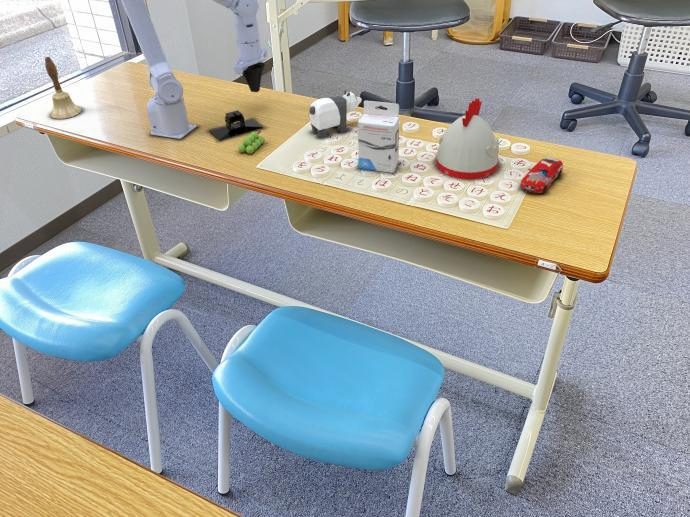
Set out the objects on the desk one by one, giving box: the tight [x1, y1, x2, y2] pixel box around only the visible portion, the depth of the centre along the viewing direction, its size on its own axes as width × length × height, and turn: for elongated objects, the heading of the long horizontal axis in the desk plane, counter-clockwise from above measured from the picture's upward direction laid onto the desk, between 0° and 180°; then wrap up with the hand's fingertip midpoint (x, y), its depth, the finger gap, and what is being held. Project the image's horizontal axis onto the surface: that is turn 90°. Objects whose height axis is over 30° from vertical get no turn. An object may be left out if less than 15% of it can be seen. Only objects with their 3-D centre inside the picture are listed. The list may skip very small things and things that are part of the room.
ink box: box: [357, 100, 400, 174], centre depth 132 cm, size 8×5×15 cm, turn 72°
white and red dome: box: [435, 98, 500, 180], centre depth 131 cm, size 14×14×15 cm
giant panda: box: [308, 89, 363, 139], centre depth 150 cm, size 15×6×10 cm, turn 119°
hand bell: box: [44, 56, 82, 120], centre depth 163 cm, size 8×8×16 cm
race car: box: [520, 156, 564, 194], centre depth 127 cm, size 13×5×4 cm, turn 140°
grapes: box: [237, 130, 265, 155], centre depth 146 cm, size 4×9×3 cm, turn 159°
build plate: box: [208, 109, 264, 142], centre depth 153 cm, size 12×7×5 cm, turn 122°
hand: (255, 91), depth 160 cm, fingers closed
